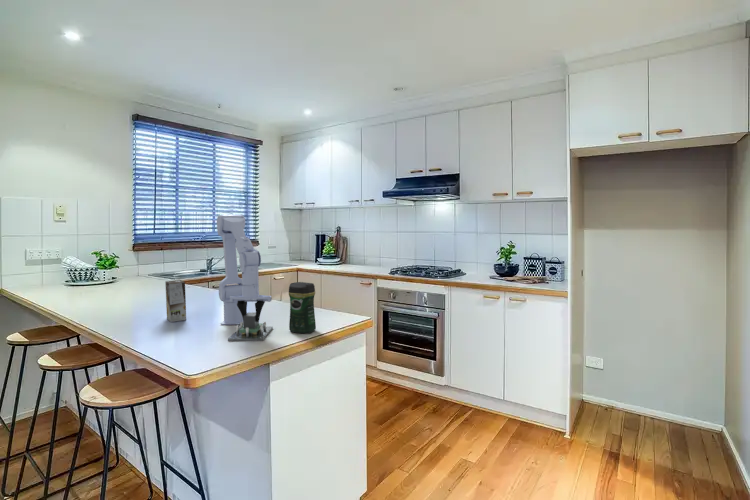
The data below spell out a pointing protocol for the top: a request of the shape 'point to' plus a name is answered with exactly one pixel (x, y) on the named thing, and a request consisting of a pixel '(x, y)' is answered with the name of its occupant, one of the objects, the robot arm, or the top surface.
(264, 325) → the peg board with balls
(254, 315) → the grey block
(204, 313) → the top surface
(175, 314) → the coffee box
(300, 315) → the coffee jar
